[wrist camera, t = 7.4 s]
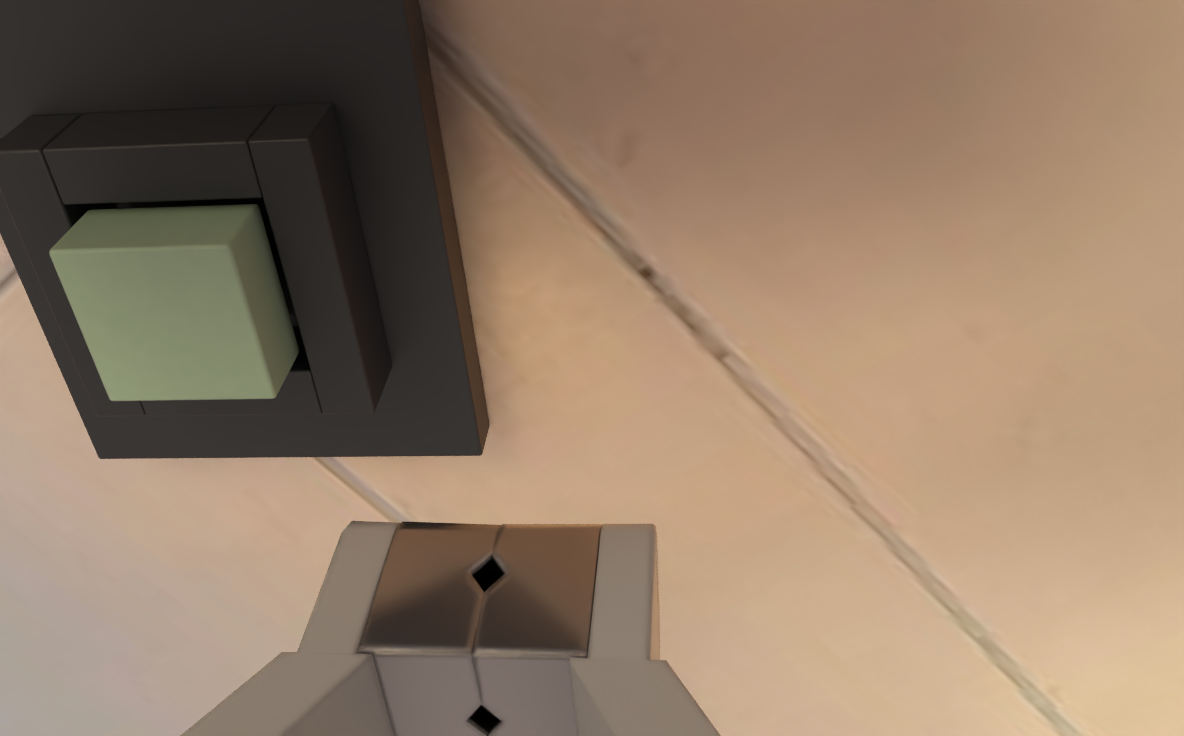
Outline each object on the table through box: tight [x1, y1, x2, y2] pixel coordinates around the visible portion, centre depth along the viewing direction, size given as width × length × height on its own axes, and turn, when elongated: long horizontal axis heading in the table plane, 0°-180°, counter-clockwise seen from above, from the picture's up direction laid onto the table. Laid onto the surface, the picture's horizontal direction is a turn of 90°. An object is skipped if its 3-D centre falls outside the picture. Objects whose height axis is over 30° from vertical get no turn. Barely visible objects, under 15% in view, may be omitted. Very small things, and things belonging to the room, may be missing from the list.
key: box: [49, 204, 299, 401], centre depth 22 cm, size 4×4×2 cm
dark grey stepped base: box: [0, 0, 489, 459], centre depth 24 cm, size 12×10×3 cm
